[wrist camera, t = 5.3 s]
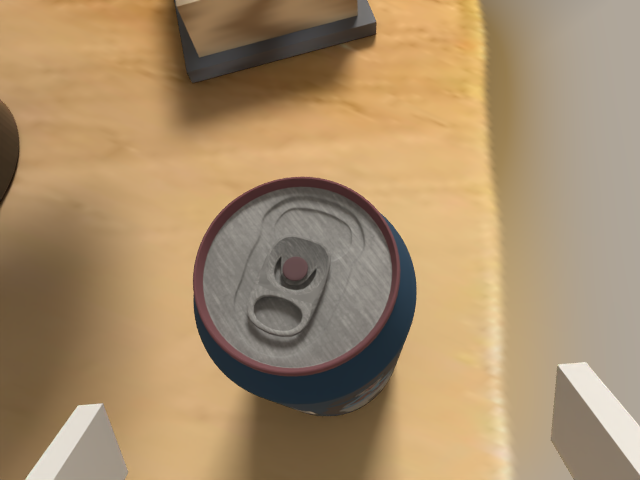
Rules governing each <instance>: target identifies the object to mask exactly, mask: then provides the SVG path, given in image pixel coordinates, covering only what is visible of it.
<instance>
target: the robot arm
mask: <svg viewBox="0 0 640 480" xmlns="http://www.w3.org/2000/svg"><path fill="white" fill-rule="evenodd" d="M18 152H19V136H18V129H17V125H16V122H15V119H14V117H13V115H12V113H11V112H10V110H9V109H8V107H7V106H6V105H5V104H4V103H3V102H2V101H1V100H0V200H1V199H2V197H3V195H4V193H5V191H6V190H7V188H8V185H9V183H10V181H11V179H12V176H13V173H14V170H15V167H16V163H17V159H18ZM551 441H552V443H553V445H554V446H555V448H556V450H557V451H558V453H559V455H560V457H561V458H562V460H563V462H564V464H565V465H566V467H567V468H568V470H569V472H570V474H571V476H572V477H573V479H574V480H640V426H639V425H638V424H637V422H636V421H635V420H634V419H633V418H632V416H631V415H630V414H629V413H628V412H627V411H626V409H625V408H624V407H623V406H622V405H621V403H620V402H619V401H618V400H617V399H616V398H615V396H614V395H613V394H612V393H611V392H610V390H609V389H608V388H607V387H606V386H605V385H604V383H603V382H602V381H601V380H600V379H599V377H598V376H597V375H596V374H595V373H594V371H593V370H592V369H591V368H590V367H589V365H588V364H587V363H586V362H581V363H570V364H558V365H557V376H556V387H555V398H554V409H553V420H552V432H551ZM127 474H128V470H127V467H126V464H125V462H124V459H123V456H122V454H121V451H120V448H119V445H118V443H117V440H116V437H115V435H114V432H113V429H112V426H111V424H110V421H109V418H108V416H107V413H106V410H105V407H104V405H103V403H101V404H89V405H78V406H77V408H76V409H75V410H74V412H73V413H72V415H71V416H70V417H69V419H68V420H67V422H66V423H65V424H64V426H63V427H62V429H61V430H60V431H59V433H58V434H57V436H56V437H55V438H54V440H53V441H52V443H51V444H50V445H49V447H48V448H47V450H46V451H45V452H44V454H43V455H42V457H41V458H40V459H39V461H38V462H37V464H36V465H35V466H34V468H33V469H32V470H31V472H30V473H29V475H28V476H27V477H26V479H25V480H125V478H126V476H127Z"/></svg>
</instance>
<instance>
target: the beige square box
mask: <svg viewBox="0 0 640 480" xmlns="http://www.w3.org/2000/svg"><path fill="white" fill-rule="evenodd" d="M174 3H175V8H176V14H177V19H178V25H179V31H180V36H181V42H182V48H183V53H184V59H185V65H186V70H187V74H188V76H189V78H190V80H191V82H192V83H194V82H198V81H202V80H206V79H209V78H213V77H217V76H221V75H224V74H228V73H232V72H236V71H239V70H243V69H247V68H251V67H254V66H258V65H262V64H265V63H269V62H273V61H277V60H280V59H284V58H288V57H292V56H295V55H299V54H303V53H307V52H310V51H314V50H318V49H322V48H325V47H329V46H333V45H337V44H340V43H344V42H348V41H352V40H355V39H359V38H363V37H366V36H370V35H374V34H376V20H375V17H374V15H373V13H372V10H371V8H370V6H369V3H368V1H367V0H174Z"/></svg>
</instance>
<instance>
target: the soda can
mask: <svg viewBox="0 0 640 480" xmlns="http://www.w3.org/2000/svg"><path fill="white" fill-rule="evenodd" d="M193 290H194V314H195V320H196V325H197V328H198V332H199V335H200V337H201V340H202V342H203V345H204V347H205V349H206V350H207V352H208V354H209V356H210V357H211V359H212V360H213V361H214V363H215V364H216V365H217V366H218V368H219V369H220V370H221V371H222V372H223V373H224V374H225V375H226V376H227V377H228V378H229V379H231V380H232V381H233V382H234V383H236V384H237V385H238V386H240V387H241V388H243V389H245V390H247V391H248V392H250V393H252V394H254V395H257V396H259V397H262V398H264V399H267V400H270V401H273V402H276V403H279V404H281V405H284V406H287V407H290V408H293V409H295V410H298V411H301V412H304V413H307V414H311V415H316V416H337V415H342V414H346V413H349V412H352V411H354V410H357V409H359V408H361V407H363V406H364V405H366V404H367V403H369V402H370V401H371V400H373V399H374V398H375V397H376V396H377V395H378V394H379V393H380V392H381V391H382V389H383V388H384V387H385V385H386V384H387V382H388V381H389V379H390V377H391V375H392V373H393V371H394V368H395V365H396V363H397V360H398V358H399V355H400V353H401V350H402V348H403V345H404V342H405V340H406V337H407V335H408V332H409V329H410V327H411V324H412V320H413V316H414V312H415V306H416V278H415V271H414V267H413V263H412V260H411V257H410V254H409V252H408V250H407V247H406V245H405V243H404V241H403V240H402V238H401V236H400V235H399V233H398V232H397V231H396V229H395V228H394V227H393V225H392V224H391V223H390V222H389V221H388V220H387V219H386V218H385V217H384V216H383V215H382V214H381V213H380V212H379V211H378V210H377V209H376V208H375V207H374V206H373V205H372V204H371V203H370V202H369V201H368V200H366V199H365V198H364V197H363V196H361V195H360V194H358V193H357V192H355V191H353V190H352V189H350V188H348V187H346V186H344V185H341V184H339V183H336V182H333V181H329V180H325V179H320V178H313V177H291V178H284V179H278V180H274V181H271V182H268V183H264V184H262V185H259V186H257V187H255V188H253V189H251V190H249V191H247V192H245V193H244V194H242V195H240V196H239V197H237V198H236V199H235V200H233V201H232V202H231V203H229V204H228V205H227V206H226V207H225V208H224V209H223V210H222V211H221V212H220V213H219V214H218V215H217V217H216V218H215V219H214V221H213V222H212V223H211V225H210V226H209V228H208V230H207V232H206V233H205V235H204V237H203V240H202V242H201V244H200V247H199V250H198V253H197V256H196V260H195V265H194V273H193Z"/></svg>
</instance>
